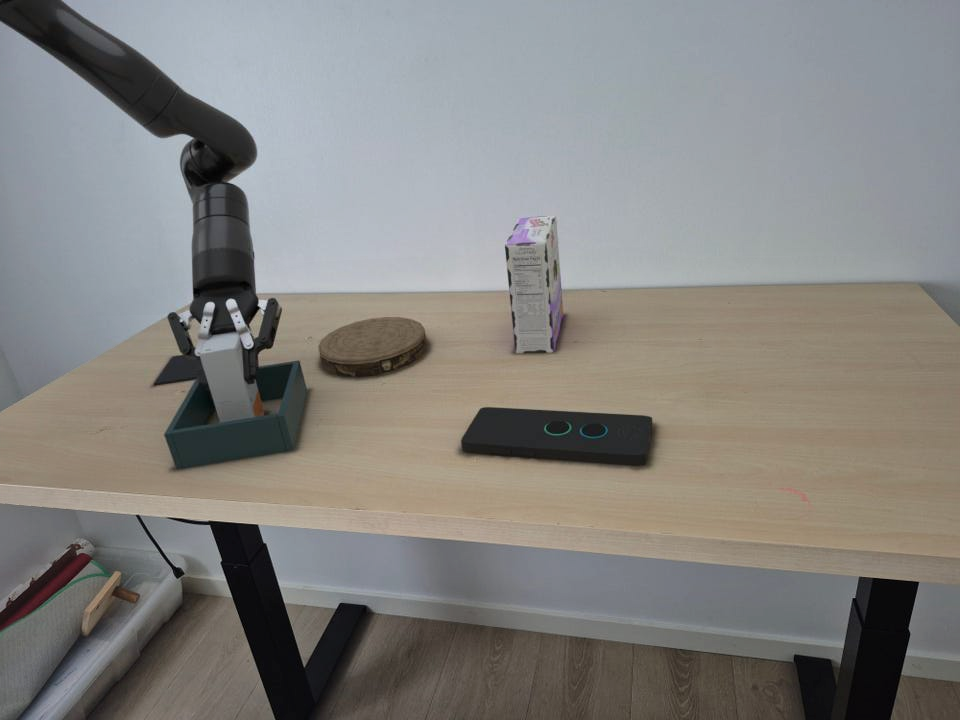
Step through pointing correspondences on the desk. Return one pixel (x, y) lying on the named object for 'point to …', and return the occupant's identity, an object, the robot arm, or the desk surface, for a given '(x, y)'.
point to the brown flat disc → (373, 347)
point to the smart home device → (560, 435)
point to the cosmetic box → (229, 378)
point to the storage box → (239, 422)
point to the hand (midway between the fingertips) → (229, 384)
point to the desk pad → (178, 371)
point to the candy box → (534, 284)
